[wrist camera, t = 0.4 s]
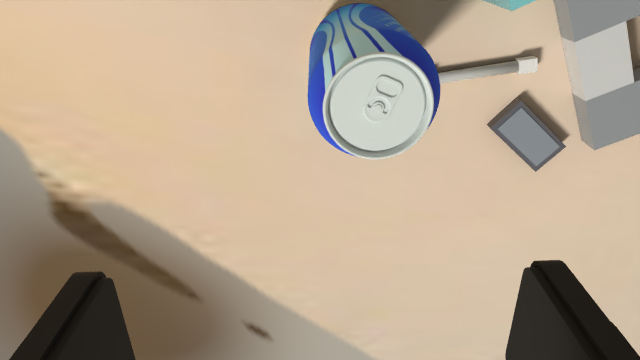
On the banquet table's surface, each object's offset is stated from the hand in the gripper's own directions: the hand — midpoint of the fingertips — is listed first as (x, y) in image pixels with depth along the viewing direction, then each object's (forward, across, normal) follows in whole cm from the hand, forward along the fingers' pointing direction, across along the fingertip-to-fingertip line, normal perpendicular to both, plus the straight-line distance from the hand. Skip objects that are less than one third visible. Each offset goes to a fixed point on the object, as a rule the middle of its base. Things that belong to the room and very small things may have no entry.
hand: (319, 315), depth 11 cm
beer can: (+34, -4, +1) cm, 35 cm away
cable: (+34, -14, +3) cm, 37 cm away
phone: (+34, -20, +9) cm, 41 cm away
